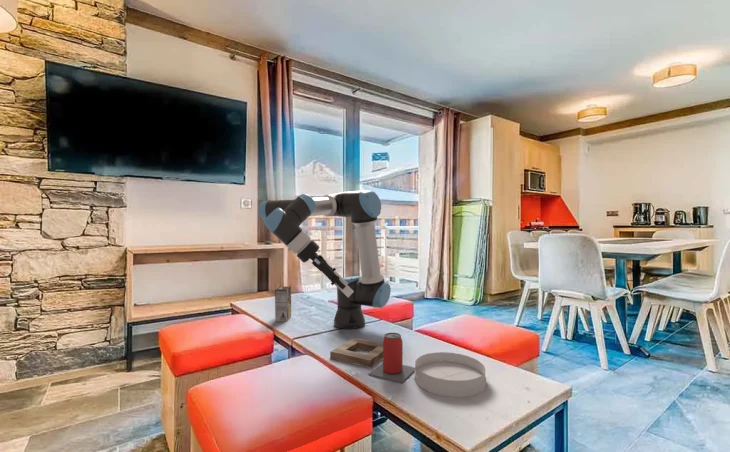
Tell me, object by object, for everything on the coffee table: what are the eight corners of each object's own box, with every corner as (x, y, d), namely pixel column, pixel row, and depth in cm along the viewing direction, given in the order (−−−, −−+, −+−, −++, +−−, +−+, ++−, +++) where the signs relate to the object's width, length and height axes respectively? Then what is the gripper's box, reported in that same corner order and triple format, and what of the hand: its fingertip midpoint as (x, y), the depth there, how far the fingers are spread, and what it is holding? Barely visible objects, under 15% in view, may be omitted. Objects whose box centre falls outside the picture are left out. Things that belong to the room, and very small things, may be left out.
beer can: (401, 375, 115) (401, 339, 115) (381, 374, 116) (381, 337, 116) (403, 367, 121) (403, 332, 121) (384, 365, 123) (384, 331, 122)
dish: (400, 374, 118) (400, 359, 118) (451, 361, 128) (451, 347, 128) (446, 405, 98) (446, 387, 98) (501, 387, 109) (501, 371, 109)
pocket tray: (354, 343, 146) (354, 337, 146) (391, 351, 137) (391, 345, 137) (330, 357, 131) (330, 351, 131) (370, 367, 123) (370, 360, 123)
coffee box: (279, 316, 188) (279, 286, 187) (291, 316, 188) (291, 286, 187) (274, 321, 179) (274, 289, 178) (287, 321, 178) (287, 289, 178)
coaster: (385, 362, 127) (385, 361, 127) (416, 369, 121) (416, 367, 121) (368, 375, 117) (368, 373, 117) (401, 383, 111) (401, 382, 111)
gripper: (295, 251, 131) (336, 290, 134) (295, 259, 106) (345, 307, 110) (310, 236, 132) (350, 276, 135) (313, 241, 107) (362, 289, 110)
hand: (348, 290), depth 122 cm, fingers open, 13 cm apart
